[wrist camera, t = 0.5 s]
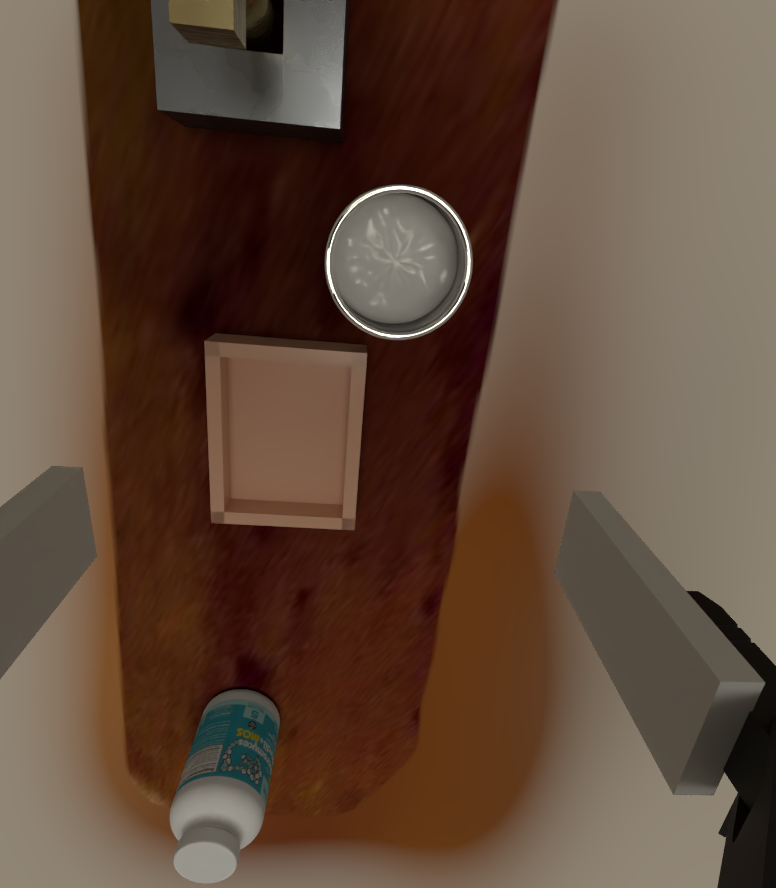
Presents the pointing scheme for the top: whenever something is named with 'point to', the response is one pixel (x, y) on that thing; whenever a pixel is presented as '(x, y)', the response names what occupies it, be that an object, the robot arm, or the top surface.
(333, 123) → the grey square block
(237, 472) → the pale pink tray
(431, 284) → the beer glass
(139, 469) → the top surface
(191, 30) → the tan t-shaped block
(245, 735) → the pill bottle
